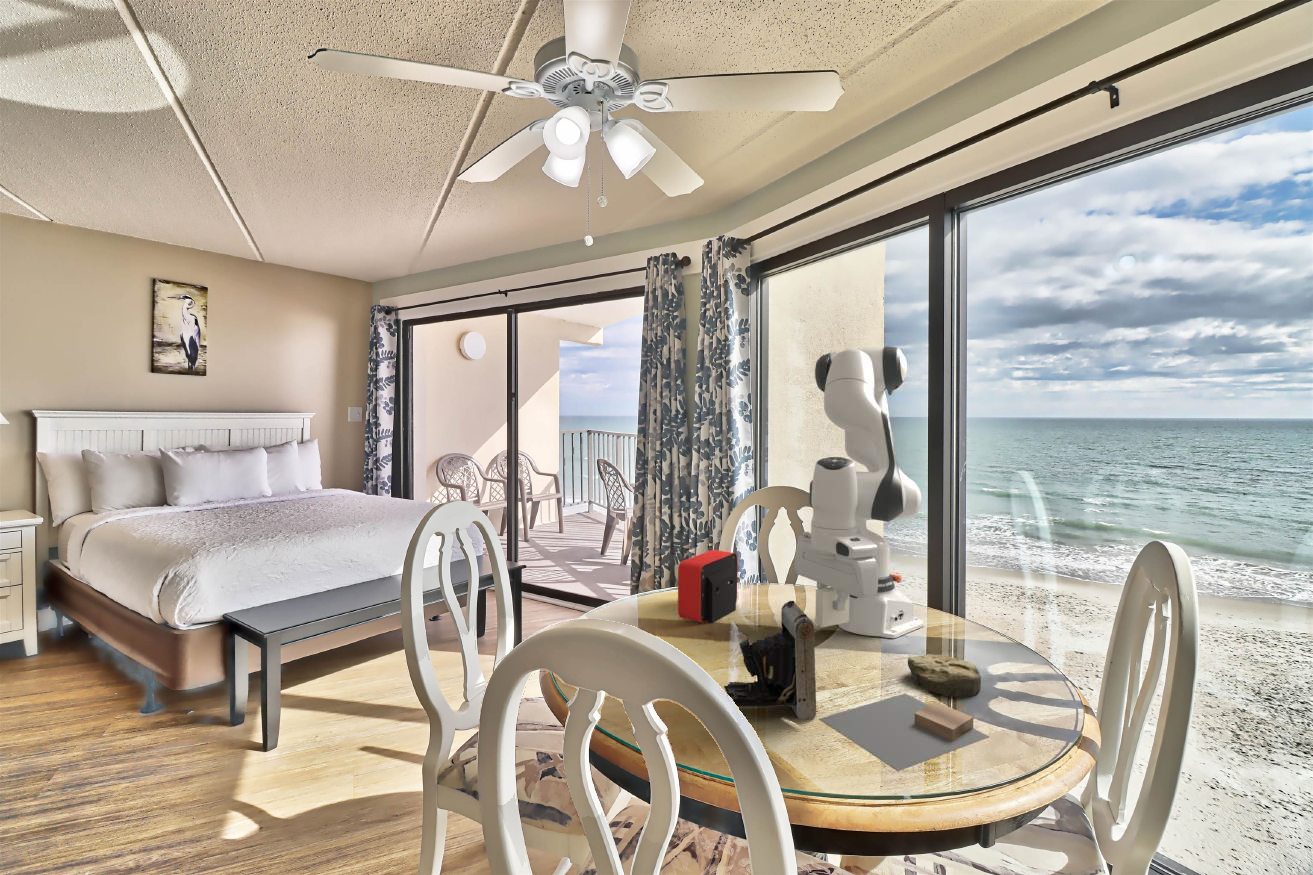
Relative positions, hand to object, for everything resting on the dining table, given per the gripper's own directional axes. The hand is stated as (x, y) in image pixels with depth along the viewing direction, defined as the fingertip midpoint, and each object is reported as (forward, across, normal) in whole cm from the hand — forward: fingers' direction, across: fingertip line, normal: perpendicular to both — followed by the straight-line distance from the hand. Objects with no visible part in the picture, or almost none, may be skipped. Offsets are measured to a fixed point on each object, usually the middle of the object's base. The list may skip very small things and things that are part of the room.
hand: (832, 607), depth 125 cm
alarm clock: (+17, -50, +3) cm, 53 cm away
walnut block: (+16, +21, +7) cm, 27 cm away
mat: (+17, +18, 0) cm, 24 cm away
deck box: (+3, 0, 0) cm, 3 cm away
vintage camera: (+17, +2, -17) cm, 24 cm away
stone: (+17, +9, +22) cm, 30 cm away
